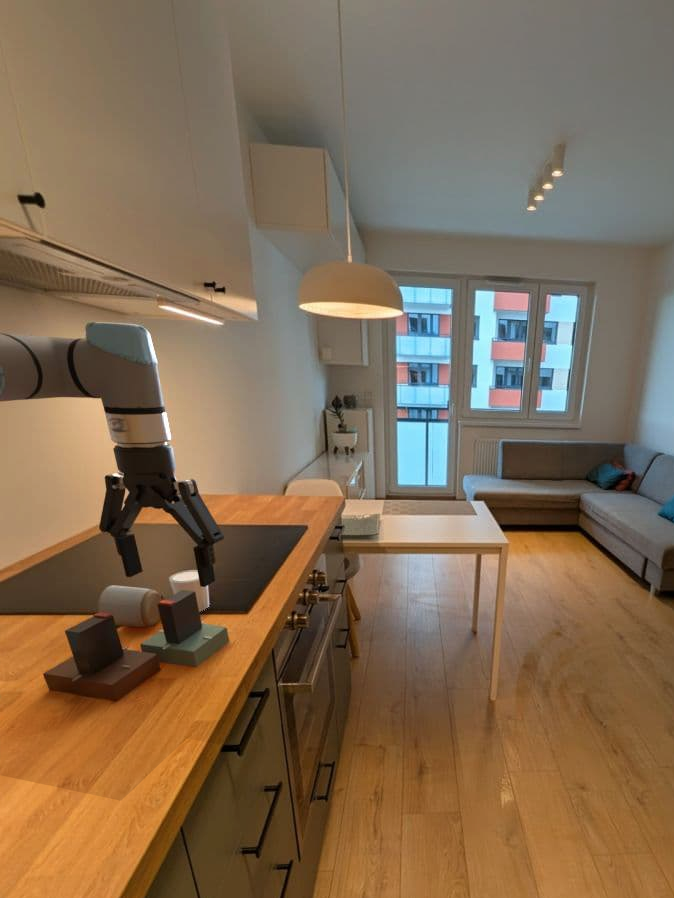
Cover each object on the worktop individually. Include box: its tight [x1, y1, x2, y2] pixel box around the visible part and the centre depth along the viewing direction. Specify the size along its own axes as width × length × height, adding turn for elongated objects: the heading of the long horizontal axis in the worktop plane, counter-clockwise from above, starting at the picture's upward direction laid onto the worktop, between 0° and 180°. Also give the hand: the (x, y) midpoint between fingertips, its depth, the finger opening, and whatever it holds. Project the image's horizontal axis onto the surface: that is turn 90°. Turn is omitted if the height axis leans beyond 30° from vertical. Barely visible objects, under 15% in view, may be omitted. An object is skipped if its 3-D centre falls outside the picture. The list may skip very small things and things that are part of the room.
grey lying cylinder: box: [97, 584, 163, 628], centre depth 96 cm, size 11×8×8 cm
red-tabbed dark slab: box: [64, 611, 124, 674], centre depth 77 cm, size 6×2×7 cm, turn 167°
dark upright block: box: [157, 590, 202, 644], centre depth 85 cm, size 6×2×7 cm, turn 168°
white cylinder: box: [168, 569, 211, 613], centre depth 102 cm, size 7×7×7 cm
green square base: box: [139, 620, 230, 668], centre depth 87 cm, size 10×10×3 cm
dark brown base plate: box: [42, 645, 162, 702], centre depth 79 cm, size 12×10×3 cm
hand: (170, 579), depth 82 cm, fingers open, 13 cm apart
